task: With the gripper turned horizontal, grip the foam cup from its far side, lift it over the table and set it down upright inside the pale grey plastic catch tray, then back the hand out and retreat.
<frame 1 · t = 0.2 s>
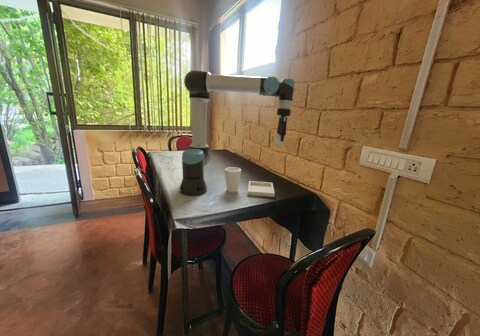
hand: (279, 145, 120), 27 cm above the table, tool pointing down, fingers open, 13 cm apart
foam cup: (232, 190, 120), on the table
catch tray: (260, 190, 122), on the table
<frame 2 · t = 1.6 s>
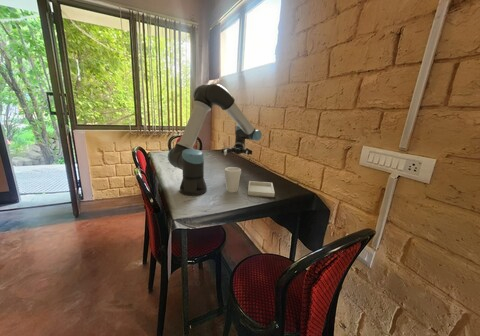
hand: (235, 153, 125), 20 cm above the table, tool horizontal, fingers open, 13 cm apart
nothing on the table moved.
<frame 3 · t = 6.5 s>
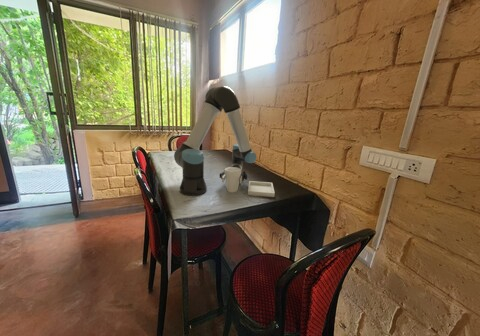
hand: (231, 180, 114), 8 cm above the table, tool horizontal, fingers closed on foam cup, 9 cm apart
foam cup: (232, 190, 120), on the table, touching gripper
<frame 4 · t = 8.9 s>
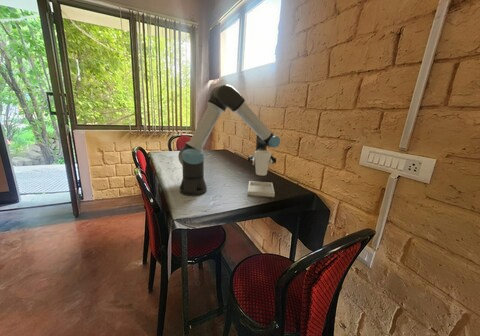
hand: (262, 163, 112), 18 cm above the table, tool horizontal, fingers closed on foam cup, 9 cm apart
foam cup: (261, 174, 119), point 11 cm above the table, touching gripper
when the fingers open (9 cm above the table, at t = 11.5 s): foam cup drops 1 cm, resting on catch tray.
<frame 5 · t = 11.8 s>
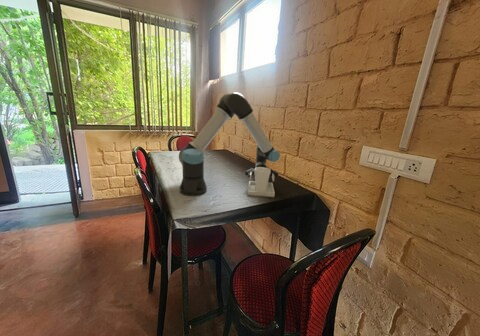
hand: (262, 178, 115), 9 cm above the table, tool horizontal, fingers open, 12 cm apart
foam cup: (260, 190, 121), resting on catch tray
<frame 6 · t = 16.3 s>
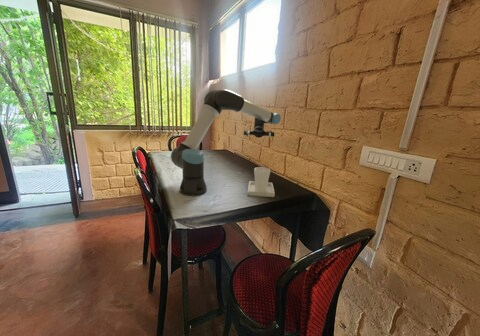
hand: (259, 134, 126), 32 cm above the table, tool horizontal, fingers open, 13 cm apart
nothing on the table moved.
at the end: foam cup inside the target area on the catch tray (0.9 cm from its centre), point 0.4 cm above the catch tray's base; foam cup tilted 0°; the gripper is holding nothing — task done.
